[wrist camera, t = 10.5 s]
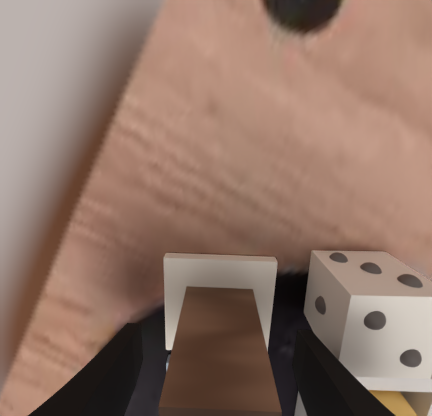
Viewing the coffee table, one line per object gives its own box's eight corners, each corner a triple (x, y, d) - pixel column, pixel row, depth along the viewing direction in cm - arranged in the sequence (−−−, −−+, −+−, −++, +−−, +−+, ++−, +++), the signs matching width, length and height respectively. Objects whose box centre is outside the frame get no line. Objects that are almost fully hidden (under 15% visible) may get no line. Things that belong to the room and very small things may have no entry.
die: (385, 246, 13) (467, 295, 8) (370, 312, 14) (436, 385, 10) (306, 244, 13) (348, 293, 8) (297, 311, 14) (331, 383, 10)
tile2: (274, 256, 13) (277, 262, 12) (265, 345, 14) (267, 353, 14) (166, 252, 13) (163, 257, 12) (168, 341, 14) (166, 349, 14)
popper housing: (421, 344, 14) (457, 379, 12) (394, 427, 16) (421, 470, 14) (306, 340, 14) (322, 374, 12) (293, 423, 16) (304, 465, 14)
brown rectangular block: (252, 289, 13) (281, 412, 7) (247, 342, 13) (269, 491, 8) (186, 286, 13) (158, 406, 7) (186, 340, 13) (161, 486, 8)
